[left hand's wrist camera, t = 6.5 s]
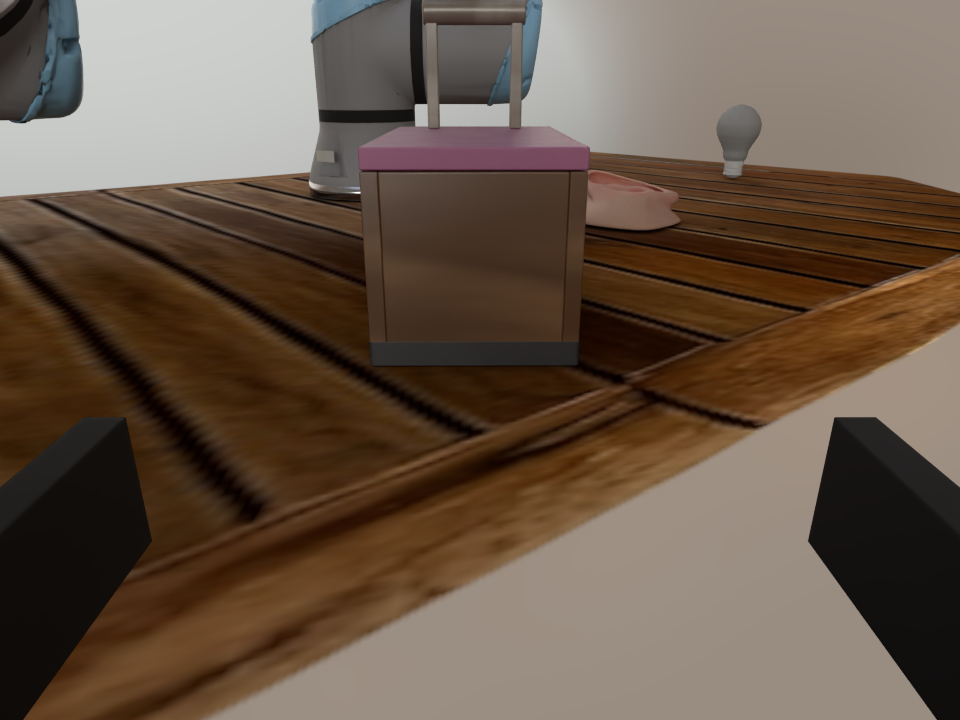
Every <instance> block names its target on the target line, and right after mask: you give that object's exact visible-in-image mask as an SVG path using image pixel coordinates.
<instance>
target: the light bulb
mask: <svg viewBox="0 0 960 720" xmlns="http://www.w3.org/2000/svg"><path fill="white" fill-rule="evenodd" d="M760 131H761V119H760V116H759V114H758V113H757V112H756V110H755V109H753V108H752V107H750V106H747V105H737V106H733V107H731V108H729V109H728V110H726V111H725V112H724V113H723V114H722V116H721V117H720V119H719V121H718V123H717V135H718V138H719V141H720V143H721V145H722V148H723V157H724V159H725V163H724V164H725V166H724V167H725V168H724V170H725V171H724V173H723V174H724V175H726V176H727V177H729V178H736V177H738V176H740V175H742V173H741V172H742V171H741V170H742V169H743V168H742V166H743V164H744V160H745V159H746V157H747V154H748V151H749V149H750V147H751V146H752V144H753V143H754V142H755V140H756V139H757V137H758V136H759V133H760Z"/></svg>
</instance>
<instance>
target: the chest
mask: <svg viewBox="0 0 960 720" xmlns="http://www.w3.org/2000/svg"><path fill="white" fill-rule="evenodd" d="M359 181H360V196H361V212H362V228H363V243H364V259H365V275H366V291H367V306H368V322H369V338H370V342H369V344H370V360H371V366H471V365H578V357H579V331H580V314H581V296H582V278H583V261H584V243H585V225H586V207H587V190H588V172H587V171H586V170H362V171H360V172H359Z"/></svg>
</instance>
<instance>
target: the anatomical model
mask: <svg viewBox="0 0 960 720" xmlns="http://www.w3.org/2000/svg"><path fill="white" fill-rule="evenodd" d="M587 172H588V190H587V207H586V225H592V226H599V227H606V228H615V229H625V230H654V229H659V228H663V227H668V226H671V225H674V224H677V223H679V222H680V218H679V217H678V216H677V215H676V214H674V213H673V212H672V210H671V209H670V207H671V206H672V205H674V204H675V203H677V202H678V200H679V195H678V194H677V193H676V192H673V191H669V190H666V189H663V188H660V187H657V186H654V185H651V184H648V183H644V182H640V181H637V180H633V179H630V178H626V177H623V176H619V175H615V174H612V173H608V172H603V171H597V170H591V171H587Z"/></svg>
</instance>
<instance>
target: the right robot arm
mask: <svg viewBox="0 0 960 720" xmlns="http://www.w3.org/2000/svg"><path fill="white" fill-rule="evenodd" d="M311 13H312V36H311V43H312V44H313V53H314V65H315V76H316V88H317V99H318V110H319V122H320V132H319V137H318V141H317V146H316V150H315V154H314V159H313V163H312V168H311V172H310V180H309V184H310V193H311V194H312V195H313V196H316V197H320V198H326V199H336V200H361V196H360V181H359V172H360V171H362V170H359V163H358V147H360V146H362V145H364V144H366V143H368V142H370V141H372V140H374V139H376V138H378V137H380V136H382V135H384V134H386V133H388V132H390V131H392V130H394V129H396V128H398V127H415V110H414V109H415V104H428V101H427V64H426V26H425V25H424V24H423V18H422V0H314V2H313V5H312V10H311ZM541 13H542V0H526V23H525V25H523V51H522V99H521V100H523V99H524V98H525V97H526V96H527V94H528V92H529V89H530V86H531V81H532V76H533V71H534V65H535V60H536V53H537V47H538V40H539V33H540V25H541ZM510 49H511V25H438V62H439V104H487V105H488V106H491V105H493V104H504V103H510Z"/></svg>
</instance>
